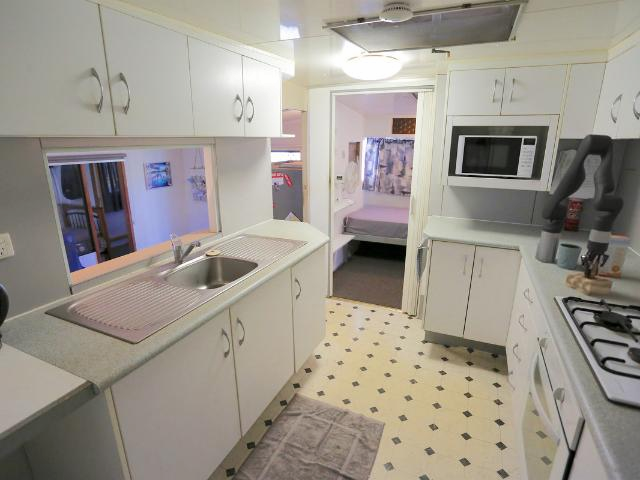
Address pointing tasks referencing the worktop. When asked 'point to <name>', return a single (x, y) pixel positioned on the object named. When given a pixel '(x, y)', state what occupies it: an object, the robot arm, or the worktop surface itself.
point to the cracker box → (615, 256)
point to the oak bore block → (588, 284)
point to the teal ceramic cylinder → (568, 256)
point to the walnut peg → (593, 270)
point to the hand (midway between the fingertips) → (590, 275)
